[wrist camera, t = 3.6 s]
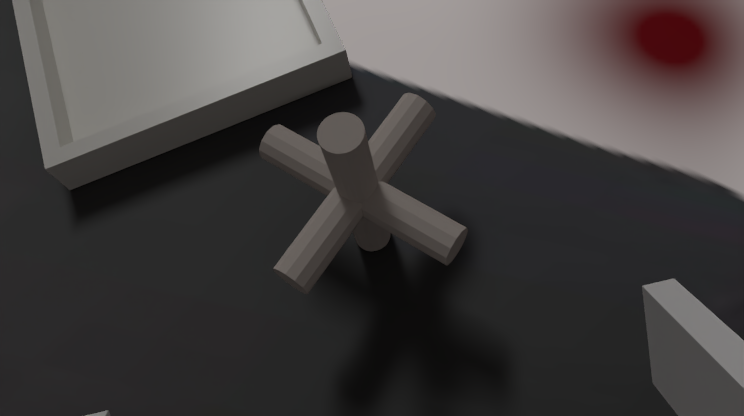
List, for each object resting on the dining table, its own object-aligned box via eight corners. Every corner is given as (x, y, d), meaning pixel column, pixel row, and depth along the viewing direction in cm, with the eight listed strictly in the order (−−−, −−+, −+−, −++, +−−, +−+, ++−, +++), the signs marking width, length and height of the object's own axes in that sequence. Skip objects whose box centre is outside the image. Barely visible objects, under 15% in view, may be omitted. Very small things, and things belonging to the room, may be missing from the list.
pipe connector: (237, 264, 35) (158, 173, 26) (349, 119, 37) (313, -8, 28) (400, 372, 31) (375, 311, 22) (509, 204, 34) (525, 90, 25)
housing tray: (70, 190, 38) (44, 169, 35) (26, -18, 45) (3, -47, 43) (352, 77, 39) (345, 49, 36) (264, -109, 46) (253, -142, 44)
